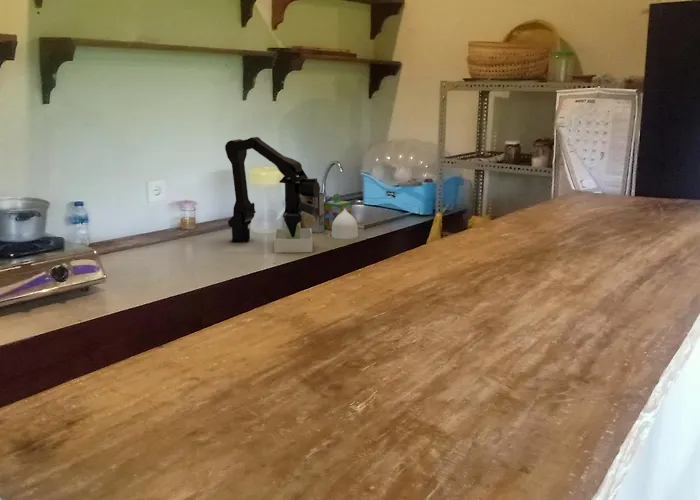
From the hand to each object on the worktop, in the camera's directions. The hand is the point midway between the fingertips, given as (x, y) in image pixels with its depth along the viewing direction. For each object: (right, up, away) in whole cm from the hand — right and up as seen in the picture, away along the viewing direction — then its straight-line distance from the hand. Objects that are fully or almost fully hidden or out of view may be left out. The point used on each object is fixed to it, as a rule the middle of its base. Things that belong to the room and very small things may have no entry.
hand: (293, 235), depth 260 cm
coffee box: (+6, +2, +28) cm, 29 cm away
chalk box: (+17, +3, +33) cm, 37 cm away
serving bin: (0, -4, +1) cm, 4 cm away
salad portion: (0, -1, 0) cm, 1 cm away
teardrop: (+20, 0, +19) cm, 28 cm away
